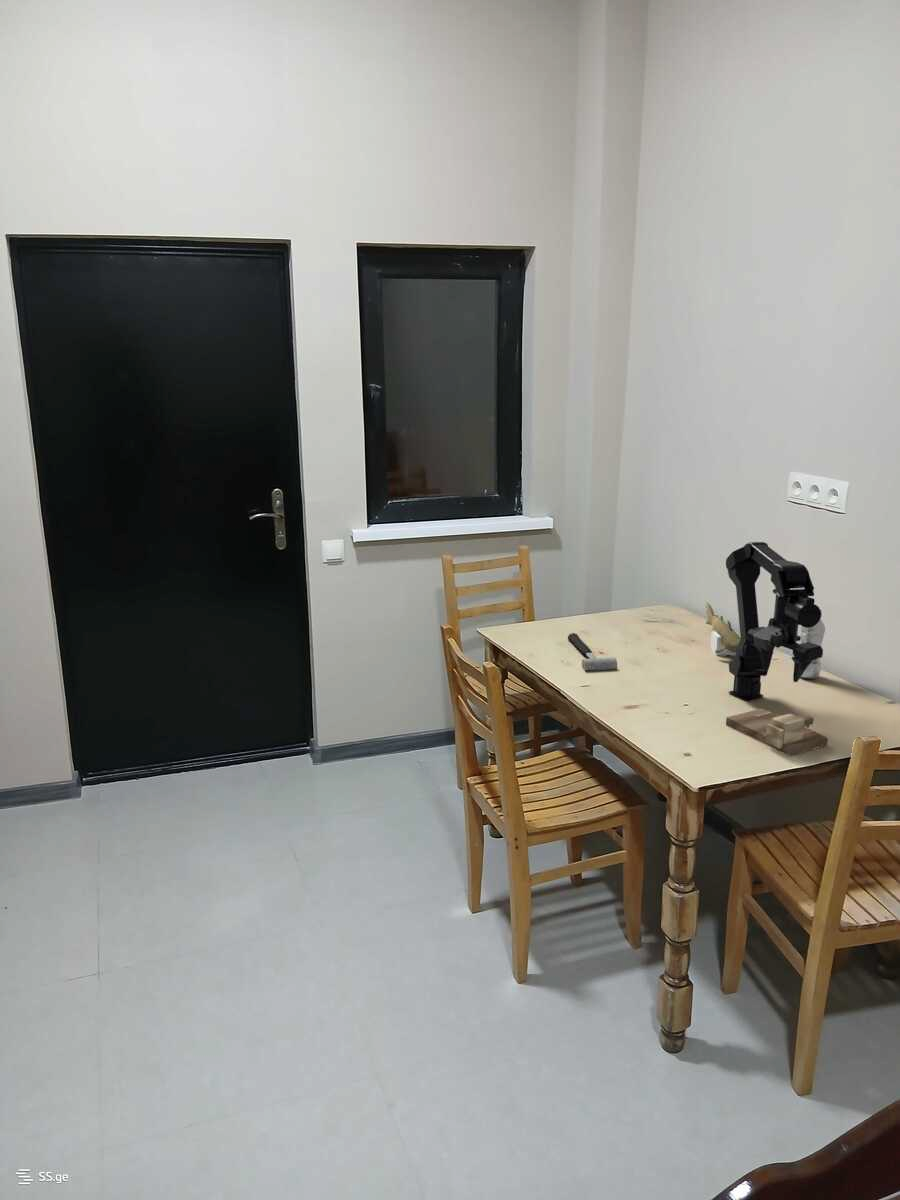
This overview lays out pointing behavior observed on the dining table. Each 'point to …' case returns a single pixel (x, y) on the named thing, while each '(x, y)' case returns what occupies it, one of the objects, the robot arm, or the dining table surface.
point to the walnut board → (757, 728)
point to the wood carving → (721, 634)
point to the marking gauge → (786, 729)
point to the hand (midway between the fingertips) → (780, 675)
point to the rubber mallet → (592, 656)
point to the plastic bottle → (815, 637)
